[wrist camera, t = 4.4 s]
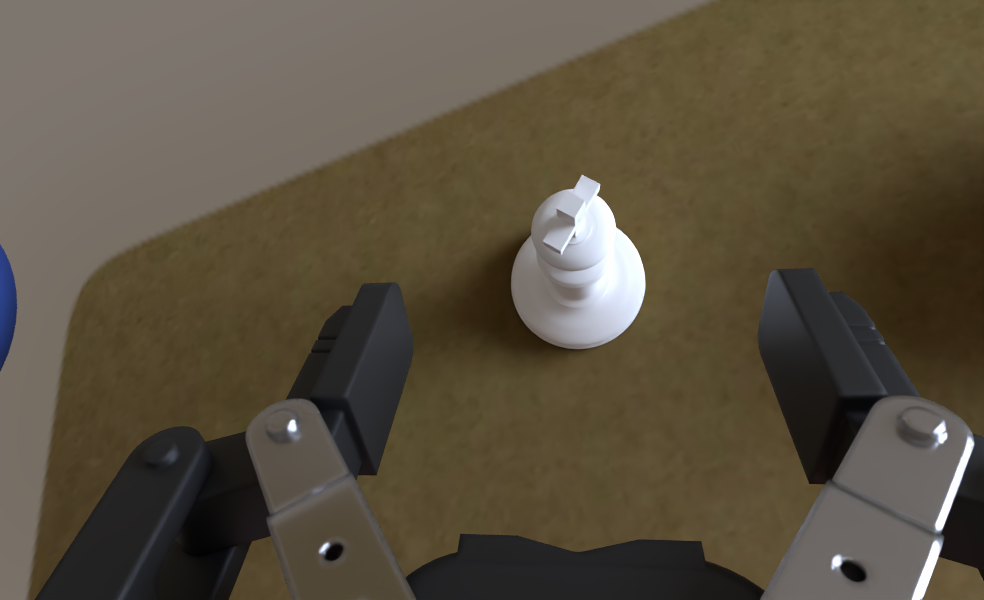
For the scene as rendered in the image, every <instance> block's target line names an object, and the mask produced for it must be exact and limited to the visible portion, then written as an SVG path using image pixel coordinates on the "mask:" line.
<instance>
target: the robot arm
mask: <svg viewBox="0 0 984 600" xmlns="http://www.w3.org/2000/svg"><path fill="white" fill-rule="evenodd" d="M758 342H759V350H760V354H761V357H762V360H763V363H764V365H765V368H766V371H767V373H768V376H769V378H770V381H771V384H772V386H773V389H774V392H775V394H776V397H777V400H778V402H779V405H780V407H781V410H782V413H783V415H784V418H785V421H786V423H787V426H788V429H789V431H790V434H791V436H792V439H793V442H794V444H795V447H796V450H797V452H798V455H799V458H800V460H801V463H802V466H803V468H804V471H805V473H806V476H807V479H808V481H809V484H825V485H824V487H823V488H822V490H821V492H820V494H819V495H818V497H817V499H816V501H815V503H814V504H813V506H812V508H811V510H810V511H809V513H808V515H807V517H806V519H805V520H804V522H803V524H802V526H801V528H800V529H799V531H798V533H797V535H796V536H795V538H794V540H793V542H792V544H791V545H790V547H789V549H788V551H787V552H786V554H785V556H784V558H783V560H782V561H781V563H780V565H779V567H778V568H777V570H776V572H775V574H774V576H773V577H772V579H771V581H770V583H769V584H768V586H767V588H766V590H765V591H764V590H763V589H762V588H760V587H759V586H757V585H756V584H754V583H753V582H751V581H750V580H748V579H746V578H745V577H743V576H741V575H739V574H737V573H735V572H733V571H731V570H729V569H727V568H724V567H722V566H719V565H717V564H714V563H710V562H707V561H705V558H704V553H703V548H702V542H701V541H671V540H635V541H630V542H626V543H621V544H616V545H612V546H607V547H603V548H598V549H593V550H589V551H584V552H573V551H569V550H565V549H562V548H558V547H555V546H551V545H548V544H544V543H541V542H537V541H534V540H530V539H527V538H523V537H520V536H509V535H477V534H460V540H459V546H458V552H456V553H452V554H449V555H446V556H443V557H440V558H437V559H435V560H433V561H431V562H429V563H427V564H425V565H423V566H421V567H420V568H418V569H417V570H415V571H414V572H412V573H411V574H410V575H408V576H407V577H406V578H405V576H404V574H403V572H402V570H401V568H400V566H399V564H398V562H397V560H396V558H395V556H394V554H393V552H392V550H391V549H390V547H389V545H388V543H387V541H386V539H385V537H384V535H383V533H382V531H381V529H380V527H379V525H378V523H377V521H376V519H375V517H374V515H373V513H372V511H371V509H370V507H369V505H368V503H367V501H366V499H365V497H364V495H363V493H362V491H361V489H360V487H359V485H358V484H357V482H356V480H357V477H358V475H377V471H378V468H379V465H380V462H381V458H382V455H383V452H384V449H385V445H386V442H387V439H388V436H389V432H390V429H391V426H392V423H393V419H394V416H395V413H396V410H397V406H398V403H399V400H400V397H401V393H402V390H403V387H404V384H405V380H406V377H407V374H408V371H409V367H410V364H411V361H412V356H413V337H412V332H411V328H410V324H409V321H408V317H407V313H406V309H405V305H404V302H403V298H402V294H401V290H400V287H399V285H398V284H397V283H370V284H363V285H362V286H361V288H360V290H359V292H358V295H357V297H356V299H355V301H354V303H353V305H352V306H342V307H341V308H340V309H338V310H337V311H336V312H335V313H334V314H333V315H332V316H331V317H330V318H329V319H328V320H326V322H325V324H324V326H323V328H322V330H321V332H320V334H319V336H318V340H316V342H315V344H314V346H313V348H312V350H311V353H309V355H308V357H307V359H306V361H305V363H304V365H303V367H302V369H301V371H300V373H299V375H298V377H297V379H296V381H295V383H294V385H293V386H292V388H291V390H290V392H289V394H288V396H287V398H286V400H283V401H280V402H277V403H275V404H273V405H271V406H269V407H267V408H266V409H264V410H263V411H262V412H260V413H259V414H258V415H257V416H256V417H255V418H254V419H253V420H252V422H251V423H250V425H249V427H248V429H247V431H245V432H242V433H238V434H235V435H231V436H227V437H223V438H219V439H215V440H212V441H208V442H205V441H204V439H203V438H202V436H201V435H200V433H199V432H198V431H197V430H196V429H193V428H191V427H184V426H180V427H173V428H169V429H166V430H163V431H160V432H158V433H156V434H154V435H152V436H151V437H149V438H148V439H146V440H145V441H143V442H142V443H141V444H140V445H139V446H137V447H136V448H135V449H134V451H133V452H132V453H131V454H130V456H129V457H128V458H127V460H126V461H125V463H124V464H123V466H122V467H121V469H120V471H119V472H118V474H117V475H116V477H115V478H114V480H113V481H112V483H111V484H110V486H109V487H108V489H107V490H106V492H105V493H104V495H103V496H102V498H101V499H100V501H99V502H98V504H97V506H96V507H95V509H94V510H93V512H92V513H91V515H90V516H89V518H88V519H87V521H86V522H85V524H84V525H83V527H82V528H81V530H80V531H79V533H78V534H77V536H76V537H75V539H74V541H73V542H72V544H71V545H70V547H69V548H68V550H67V551H66V553H65V554H64V556H63V557H62V559H61V560H60V562H59V563H58V565H57V566H56V568H55V569H54V571H53V572H52V574H51V576H50V577H49V579H48V580H47V582H46V583H45V585H44V586H43V588H42V589H41V591H40V592H39V594H38V595H37V597H36V598H35V600H229V597H230V595H231V592H232V590H233V587H234V585H235V582H236V580H237V577H238V575H239V572H240V570H241V567H242V564H243V562H244V559H245V557H246V554H247V552H248V549H249V547H250V544H251V542H252V541H254V540H258V539H261V538H265V537H268V536H271V537H272V540H273V543H274V547H275V550H276V553H277V556H278V559H279V562H280V565H281V568H282V571H283V574H284V577H285V581H286V584H287V587H288V590H289V593H290V596H291V599H292V600H922V599H923V596H924V593H925V591H926V588H927V585H928V582H929V580H930V577H931V574H932V572H933V569H934V566H935V564H936V561H937V558H938V557H942V558H945V559H948V560H952V561H955V562H958V563H962V564H965V565H969V566H972V567H975V568H978V570H979V572H980V574H981V576H982V578H983V580H984V437H982V436H978V435H975V434H972V433H971V431H970V429H969V427H968V426H967V425H966V424H965V422H964V421H963V420H962V419H961V418H960V417H958V416H957V415H956V414H955V413H953V412H952V411H950V410H949V409H947V408H945V407H943V406H942V405H940V404H937V403H935V402H933V401H930V400H927V399H924V398H921V396H920V395H919V393H918V391H917V390H916V388H915V387H914V385H913V384H912V382H911V381H910V379H909V377H908V376H907V374H906V373H905V371H904V370H903V368H902V367H901V365H900V363H899V362H898V360H897V359H896V357H895V356H894V354H893V353H892V351H891V349H890V348H889V346H888V345H887V344H885V340H884V339H883V337H882V335H881V334H880V332H879V331H878V329H875V325H874V323H873V321H872V320H871V318H870V317H869V315H868V314H867V312H866V311H865V309H864V307H862V306H861V305H860V304H858V303H857V302H855V301H854V300H853V299H851V298H850V297H849V296H847V295H846V294H845V293H843V292H828V291H827V289H826V287H825V286H824V284H823V282H822V280H821V279H820V277H819V275H818V274H817V272H816V271H815V270H814V269H813V268H806V269H778V270H772V272H771V273H770V276H769V279H768V284H767V289H766V294H765V299H764V304H763V309H762V314H761V319H760V324H759V330H758Z"/></svg>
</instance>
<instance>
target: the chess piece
mask: <svg viewBox="0 0 984 600" xmlns="http://www.w3.org/2000/svg"><path fill="white" fill-rule="evenodd" d="M599 189H600V184H599V183H597V182H595V181H593V180H591V179H589V178H587V177H585V176H583V175H582V176H581V178H580V180H579V181H578V183H577V185H576V186H575V188H574V189H568V190H563V191H560V192H557V193H555V194H553V195H551V196H550V197H548V198H547V199H546V200H545V201H544V202H543V203H542V204H541V205H540V206H539V208H538V209H537V211H536V213H535V215H534V218H533V221H532V226H531V236H530V237H529V238H528V239H527V240H526V241H525V243H524V244H523V245H522V247H521V248H520V250H519V252H518V254H517V256H516V259H515V262H514V265H513V269H512V276H511V292H512V298H513V301H514V305H515V307H516V310H517V312H518V314H519V316H520V317H521V319H522V320H523V322H524V323H525V324H526V326H527V327H528V328H529V329H530V330H531V331H532V332H533V333H534V334H536V335H537V336H538V337H540V338H541V339H543V340H545V341H547V342H549V343H551V344H553V345H556V346H559V347H563V348H569V349H586V348H592V347H596V346H599V345H602V344H605V343H607V342H609V341H611V340H613V339H614V338H616V337H617V336H619V335H620V334H621V333H622V332H623V331H625V330H626V329H627V328H628V326H629V325H630V324H631V323H632V321H633V320H634V319H635V317H636V315H637V314H638V312H639V310H640V307H641V305H642V301H643V298H644V292H645V274H644V268H643V265H642V261H641V258H640V256H639V254H638V252H637V250H636V248H635V246H634V245H633V243H632V242H631V241H630V240H629V238H628V237H627V236H626V235H625V234H624V233H623V232H621V231H620V230H619V229H618V228H616V226H615V220H614V216H613V214H612V212H611V210H610V208H609V207H608V205H607V204H606V203H605V202H604V201H603V200H602V199H601V198H600V197H598V196H597V194H598V192H599Z"/></svg>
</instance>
